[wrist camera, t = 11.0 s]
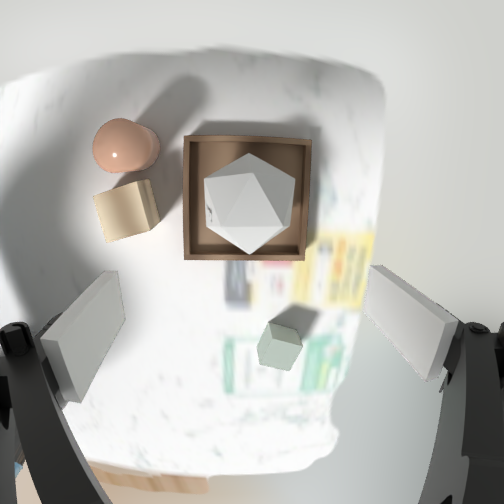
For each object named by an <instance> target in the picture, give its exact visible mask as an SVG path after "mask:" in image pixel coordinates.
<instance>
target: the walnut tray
mask: <svg viewBox="0 0 504 504" xmlns="http://www.w3.org/2000/svg"><path fill="white" fill-rule="evenodd" d="M311 147H312V140H307V139H295V138H281V137H264V136H235V135H188V136H184V148H183V238H184V260H268V261H305V249H306V236H307V222H308V207H309V191H310V171H311ZM248 153H250V154H252V155H254V156H256V157H258V158H259V159H261V160H263V161H265V162H267V163H268V164H270V165H272V166H274V167H275V168H277V169H279V170H281V171H282V172H284V173H286V174H288V175H289V176H291V177H293V178H295V186H294V195H293V204H292V212H291V221H290V226H289V227H288V228H286V229H285V230H283V231H282V232H281V233H279V234H278V235H276V236H275V237H274V238H272V239H271V240H269V241H268V242H267V243H265V244H264V245H262V246H261V247H260V248H258V249H257V250H256V251H254V252H253V253H251V254H250V255H249V254H248V253H246V252H245V251H243V250H242V249H240V248H239V247H237V246H235V245H234V244H232V243H231V242H229V241H228V240H226V239H225V238H223V237H222V236H220V235H219V234H217V233H215V232H214V231H212V230H211V229H209V228H208V227H206V211H205V190H204V178H206V177H208V176H209V175H211V174H213V173H214V172H216V171H218V170H220V169H221V168H223V167H225V166H226V165H228V164H230V163H232V162H233V161H235V160H237V159H239V158H241V157H242V156H244V155H246V154H248Z"/></svg>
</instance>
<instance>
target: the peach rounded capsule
mask: <svg viewBox="0 0 504 504" xmlns="http://www.w3.org/2000/svg"><path fill="white" fill-rule="evenodd" d="M159 152H160V142H159V139H158V137H157V135H156V134H155V133H154V132H153V131H152V130H150V129H148V128H146V127H144V126H142V125H139V124H137V123H135V122H132V121H130V120H127V119H123V118H118V119H113V120H110V121H108V122H107V123H105V124H104V125H103V126H102V127H101V128H100V129H99V130H98V132H97V134H96V136H95V138H94V141H93V155H94V158H95V161H96V162H97V164H98V165H99V166H100V167H101V168H102V169H103V170H105V171H107V172H111V173H120V172H130V171H141V170H145V169H147V168H149V167H150V166H151V165H153V164H154V162H155V161H156V160H157V158H158V156H159Z"/></svg>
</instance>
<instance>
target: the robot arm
mask: <svg viewBox="0 0 504 504" xmlns="http://www.w3.org/2000/svg"><path fill="white" fill-rule="evenodd" d="M363 312H364V313H365V314H366V315H367V316H368V317H369V319H370V320H371V321H372V322H373V323H374V324H375V325H376V326H377V327H378V329H379V330H380V331H381V332H382V333H383V334H384V335H385V336H386V338H387V339H388V340H389V341H390V342H391V343H392V344H393V346H394V347H395V348H396V349H397V350H398V351H399V352H400V354H401V355H402V356H403V357H404V358H405V359H406V360H407V362H408V363H409V364H410V365H411V366H412V368H413V369H414V370H415V371H416V372H417V373H418V375H419V376H420V377H421V378H422V379H423V381H424V382H427V381H430V380H434V379H437V378H439V375H440V373H441V370H442V368H443V366H444V367H445V368H446V369H447V370H448V372H447V374H446V377H445V379H444V382H443V384H442V386H441V388H440V391H439V392H442V390H443V389H444V390H443V399H442V406H441V412H440V419H439V424H438V430H437V435H436V440H435V445H434V449H433V453H432V458H431V462H430V466H429V470H428V473H427V477H426V480H425V484H424V488H423V491H422V494H421V497H420V500H419V503H418V504H504V322H503V323H502V324H501V326H500V329H499V332H498V333H491V332H490V330H489V329H488V328H487V327H486V326H484V325H482V324H479V323H474V322H470V323H466V324H464V323H463V322H461V321H460V320H459V319H457V318H456V317H455V316H454V315H452V314H450V313H449V312H448V311H447V310H444V308H443V307H441V306H440V305H439V304H437V303H435V302H434V301H432V300H431V299H429V298H428V297H427V296H425V295H424V294H423V293H421V292H420V291H418V290H417V289H416V288H414V287H413V286H411V285H410V284H409V283H407V282H406V281H404V280H403V279H401V278H400V277H399V276H397V275H396V274H394V273H393V272H391V271H390V270H388V269H387V268H386V267H384V266H383V265H370V269H369V277H368V284H367V290H366V297H365V303H364V309H363ZM124 321H125V315H124V309H123V303H122V297H121V291H120V285H119V278H118V271H104V272H103V273H102V274H101V275H100V276H99V277H98V278H97V279H96V280H95V281H94V282H93V283H92V284H91V285H90V286H89V287H88V288H87V289H86V290H85V291H84V292H83V293H82V294H81V295H80V296H79V297H78V298H77V299H76V300H75V301H74V302H73V303H72V304H71V305H70V306H69V307H68V308H67V309H66V311H65V312H64V313H60V314H58V315H57V316H55V317H53V318H52V319H51V320H50V321H49V322H48V323H47V325H46V326H45V327H44V328H43V330H41V331H40V332H39V333H38V334H37V335H36V336H35V338H34V339H32V336H31V333H30V330H29V327H28V325H27V324H26V323H24V322H14V323H10V324H8V325H5V326H4V327H2V328H1V329H0V344H1V346H0V504H17V497H16V485H15V478H16V477H17V475H18V473H19V472H20V470H21V469H22V468H23V464H24V462H25V460H26V462H27V465H28V468H29V471H30V474H31V477H32V480H33V482H34V485H35V488H36V490H37V493H38V495H39V498H40V500H41V503H42V504H113V503H112V502H111V500H110V499H109V497H108V496H107V494H106V493H105V491H104V490H103V488H102V487H101V485H100V483H99V482H98V480H97V478H96V477H95V475H94V473H93V472H92V470H91V468H90V466H89V465H88V463H87V461H86V459H85V457H84V455H83V454H82V452H81V450H80V448H79V446H78V444H77V442H76V440H75V438H74V436H73V434H72V432H71V430H70V427H69V425H68V423H67V421H66V419H65V416H64V414H63V412H62V410H63V409H64V408H65V406H66V405H67V403H68V401H72V402H77V403H82V401H83V399H84V397H85V395H86V393H87V391H88V388H89V386H90V384H91V383H92V381H93V379H94V377H95V375H96V373H97V371H98V369H99V367H100V365H101V363H102V361H103V359H104V357H105V356H106V354H107V352H108V350H109V348H110V346H111V344H112V343H113V341H114V339H115V337H116V335H117V333H118V332H119V330H120V328H121V326H122V325H123V323H124Z"/></svg>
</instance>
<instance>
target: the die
mask: <svg viewBox="0 0 504 504" xmlns="http://www.w3.org/2000/svg"><path fill="white" fill-rule="evenodd" d="M294 186H295V178H293V177H291V176H289V175H288V174H286V173H284V172H282V171H281V170H279V169H277V168H275V167H274V166H272V165H270V164H268V163H267V162H265V161H263V160H261V159H259V158H258V157H256V156H254V155H252V154H250V153H248V154H246V155H244V156H242V157H241V158H239V159H237V160H235V161H233V162H232V163H230V164H228V165H226V166H225V167H223V168H221V169H220V170H218V171H216V172H214V173H213V174H211V175H209V176H208V177H206V178H204V190H205V211H206V227H208V228H209V229H211V230H212V231H214V232H215V233H217V234H219V235H220V236H222V237H223V238H225V239H226V240H228V241H229V242H231V243H232V244H234V245H235V246H237V247H239V248H240V249H242V250H243V251H245V252H246V253H248V254H249V255H250V254H251V253H253V252H254V251H256V250H257V249H258V248H260V247H261V246H262V245H264V244H265V243H267V242H268V241H269V240H271V239H272V238H274V237H275V236H276V235H278V234H279V233H281V232H282V231H283V230H285V229H286V228H288V227H289V226H290V221H291V212H292V204H293V195H294Z"/></svg>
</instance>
